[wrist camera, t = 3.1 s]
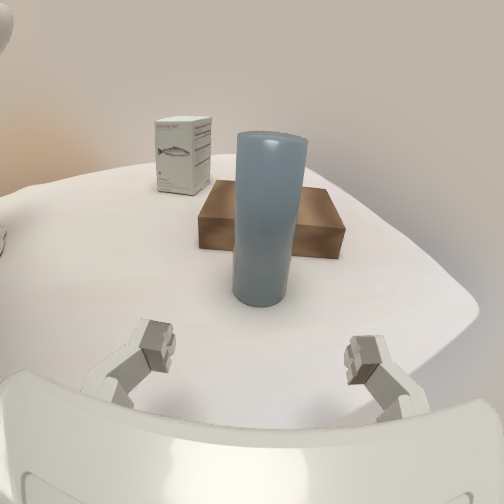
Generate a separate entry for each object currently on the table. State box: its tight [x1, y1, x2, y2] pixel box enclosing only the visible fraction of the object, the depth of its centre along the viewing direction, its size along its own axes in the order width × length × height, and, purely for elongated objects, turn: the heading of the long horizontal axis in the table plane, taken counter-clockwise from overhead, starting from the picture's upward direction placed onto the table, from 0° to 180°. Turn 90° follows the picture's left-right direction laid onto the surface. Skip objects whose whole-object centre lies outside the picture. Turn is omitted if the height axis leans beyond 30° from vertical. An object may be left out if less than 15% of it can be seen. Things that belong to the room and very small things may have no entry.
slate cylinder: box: [233, 131, 308, 307], centre depth 22 cm, size 5×5×14 cm
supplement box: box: [155, 116, 212, 196], centre depth 43 cm, size 7×7×13 cm
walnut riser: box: [198, 180, 346, 259], centre depth 35 cm, size 16×12×4 cm
